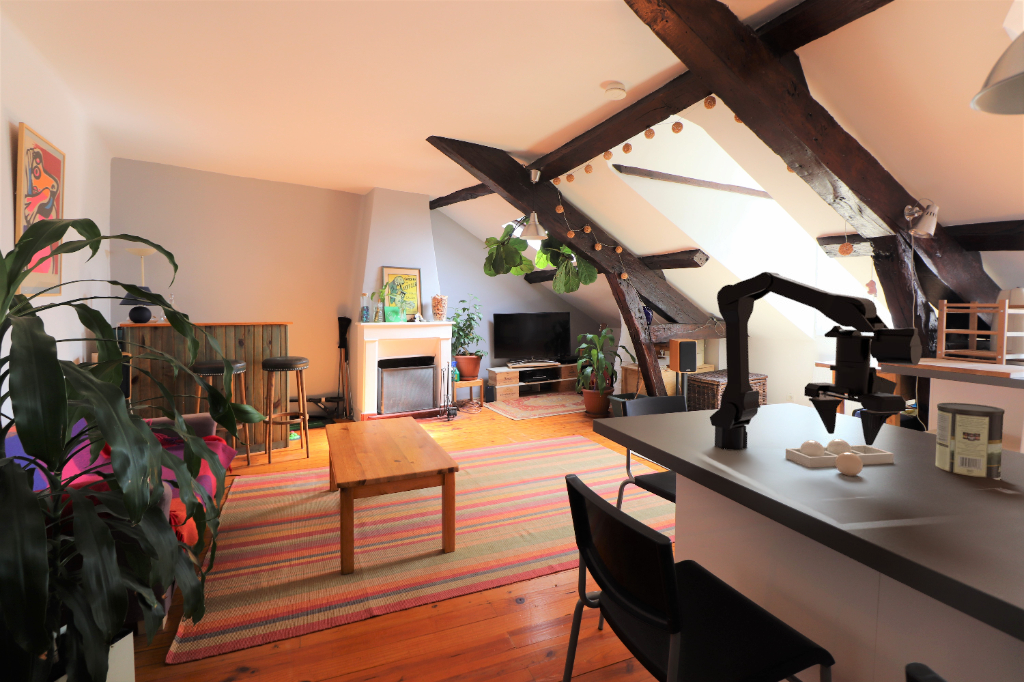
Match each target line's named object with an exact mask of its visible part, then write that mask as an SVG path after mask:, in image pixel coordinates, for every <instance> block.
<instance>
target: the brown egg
mask: <svg viewBox="0 0 1024 682" xmlns="http://www.w3.org/2000/svg"><path fill="white" fill-rule="evenodd" d="M835 465H836V466H835V467H836V470H837V471H839V473H841V474H842V475H845V476H850V477H854V476H856V475H859V474H860V473H861V472H862V471H863V468H864V465H863V463H862V460H861V459H860V458H859V457H858V456H857V455H856V454H854V453H850V452H844V453H841V454H840V455H838V456H837V458H836V460H835Z"/></svg>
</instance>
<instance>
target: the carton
mask: <svg viewBox="0 0 1024 682" xmlns="http://www.w3.org/2000/svg"><path fill="white" fill-rule="evenodd" d="M850 446H851V450H852V452H851V453H854V454H856V455H857V456H858V457H859V458H860V459H861V460H862V463H863V466H864V465H879V464H880V465H881V464H893V463H894V457H895V453H893V452H890V451H888V450H883V449H880V448H877V447H873V446H872V445H866V444H859V445H857V444H856V445H854V444H853V445H850ZM823 447H824V450H825V454H824V456H818V457H809V456H807V455H804V454H801V453H800V447H795V448H785V459H787V460H789V461H792V462H795V463H797V464H800V465H801V466H804V467H808V468H823V467H824V468H825V467H836V465H835V460H836V458H837V456H838V455H835V454H832V453H829V452H827V446H823Z"/></svg>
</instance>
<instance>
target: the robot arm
mask: <svg viewBox="0 0 1024 682" xmlns="http://www.w3.org/2000/svg"><path fill="white" fill-rule="evenodd" d="M769 293H773V294H776V295H778V296H780V297H783V298H786V299H789V300H792V301H794V302H796V303H800V304H801V305H805V306H808V307H810V308H812V309H816V310H817V311H818V312H820V313H821V314H823V316H824V317H826V318H828V319H830V320H831V321H833V322H835V323H836V324H838V325H833V327H832V328H831V329H829V331H826V333H824V335H823V336H824V337H825V338H834V339H835V362H834V364H830V366H829V370H830V371H834V383H831V382H808V383H807V384H806V385H805V386H804V393H803V394H804V396H805V397H808V401H809V402H811V404H812V405H813V407H814V409H815V411H816V412H817V413H818V415H819V417H820V420H821V422H822V424H823V425H824V428H825V430H826V431H827V433H828V434H829V435H834V434H835V430H836V423H837V411H838V410H837V409H838V407H839V406H840V405H841V403H842V402H843V400H844V401H845V400H846V401H850V402H854V403H858V404H859V403H860V405H861V407H862V409H859V416H860V420H861V421H860V422H861V428H862V434H863V438H864V443H865V445H867V446H873V444H874V443H875V441H876V438H877V437H878V435H879V433H880V430H881V429H882V427H883V425H884V423H885V422H886V421H887V420H888V419H889V418H891V417H892V416H898V415H899V414H900V412H906V411H907V410H906V409H907V400H906V399H905V398H904V397H903V395H899V394H895V390H896V388H897V385H898V383H897V382H895V381H893V380H890V379H888V378H885V377H882V376H879V375H877V370H878V369H876V367H875V366H871V357H872V358H873V359H875V360H876V362H877V363H879V364H889V365H903V366H904V365H905V366H917V365H919V363H920V362H921V358H922V354H923V345H922V344H921V338H920V335H919V329H918V328H917V327H905V328H889V327H888V325H886V323H885V322H884V321H883V319H881V317H880V316H879V315H878V314H877V311H878V309H877V307H876V305H875V302H874V301H872V300H871V299H869V298H866V297H860V296H856V295H855V296H854V295H848V294H841V293H833V292H829V291H826V290H825V289H824V290H823V289H820V288H818V287H815V286H812V285H809V284H806V283H803V282H800V281H797V280H795V279H791V278H788V277H786V276H783V275H780V273H778V272H771V271H770V272H769V271H764V272H763V271H762V272H761V273H759V274H757V275H755V276H753V277H750V278H747V279H744V280H741V281H739V282H736V283H734V284H726V285H723V286H722V287H721V288H720V289H719V290H718V292H717V294H716V300H717V301H716V302H717V307H718V311H719V313H720V315H721V317H722V320H723V321H724V324H725V350H726V351H725V353H726V356H725V357H726V384H725V387H724V389H723V391H722V394H721V397H720V405H719V408H718V409H717V410H716V411H715V412H714V413H712V414H711V415H710V416H709V419H710V425H711V426H712V427H714V447H716V448H718V449H721V450H729V451H730V450H731V451H741V450H743V449H746V448H748V431H747V426H748V425H750V423H751V421H752V419H753V418H755V416H756V415H757V413H758V412H759V411H758V410H759V409H760V408H761V404H760V390H754V389H753V388H752V385H751V383H750V367H749V366H750V364H749V363H750V361H749V357H750V355H749V329H748V327H749V326H748V325H749V321H750V318H751V315H752V313H753V312H754V306H755V301H758V300H759V299H760V300H761V299H762V298H764V297H766V296H767V295H768V294H769ZM841 326H842V327H847V328H849V327H850V328H853V329H844V328H842V327H841ZM862 333H868V334H869V333H870V334H871V333H872V334H873V335H863V334H862Z"/></svg>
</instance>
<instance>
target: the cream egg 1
mask: <svg viewBox="0 0 1024 682" xmlns="http://www.w3.org/2000/svg"><path fill="white" fill-rule="evenodd" d="M824 447H825V446H823V444H821V443H820V442H818V441H817V440H813V439H810V440H806V441H803V442H802V443H801V445H800V447H799V448H800V453H801V454H804V455H807V456H809V457H818V456H824V454H825V450H824Z"/></svg>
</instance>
